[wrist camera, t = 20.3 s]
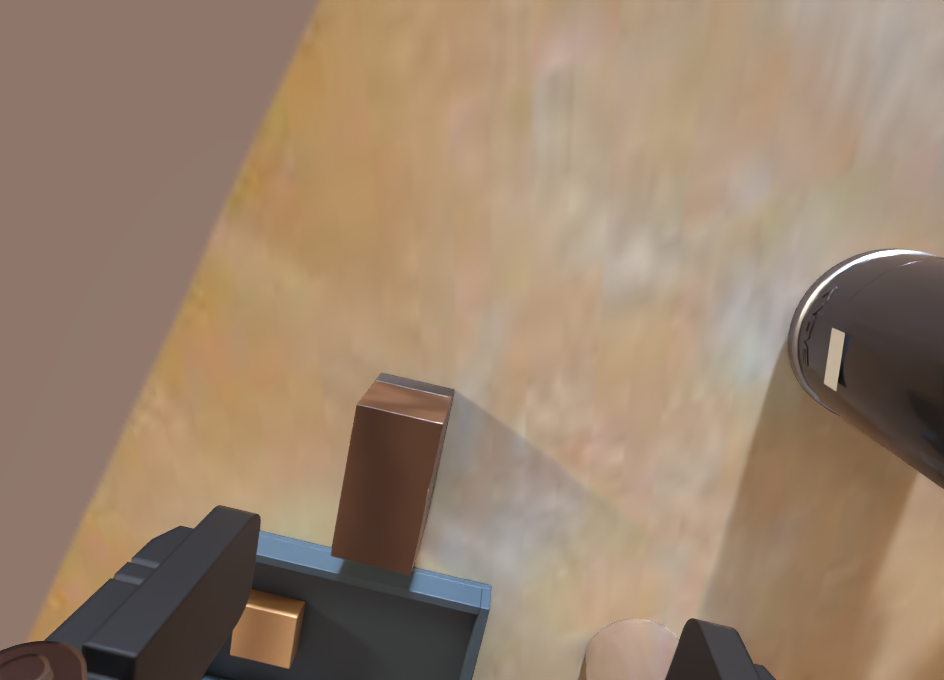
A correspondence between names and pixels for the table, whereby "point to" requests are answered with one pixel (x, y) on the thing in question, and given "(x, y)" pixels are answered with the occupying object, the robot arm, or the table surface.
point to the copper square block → (269, 629)
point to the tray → (364, 619)
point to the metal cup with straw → (631, 651)
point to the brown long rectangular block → (391, 472)
